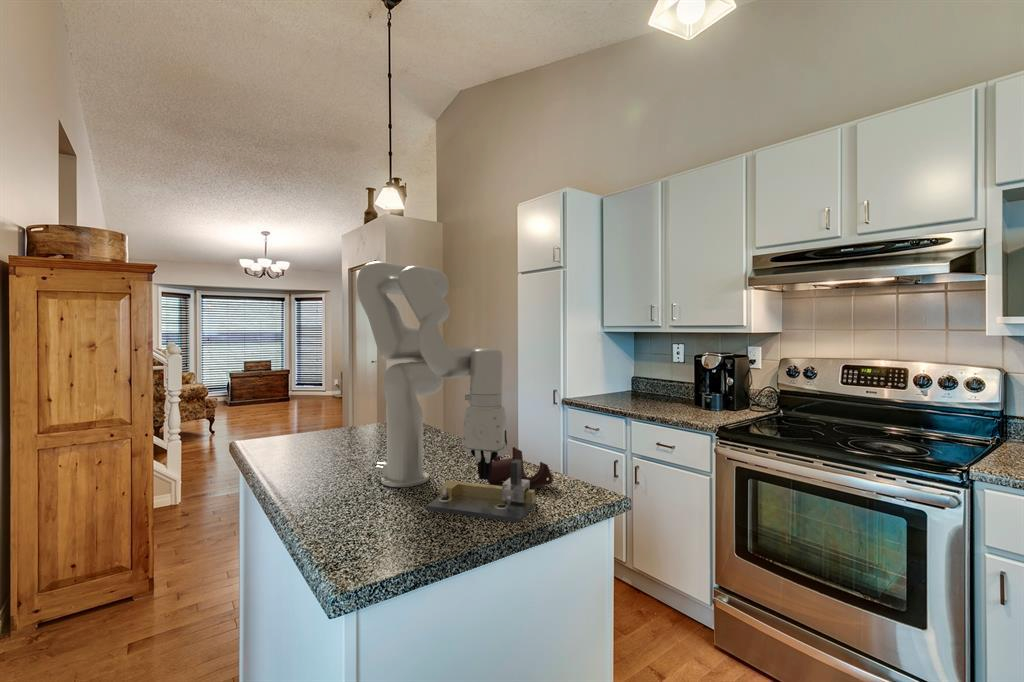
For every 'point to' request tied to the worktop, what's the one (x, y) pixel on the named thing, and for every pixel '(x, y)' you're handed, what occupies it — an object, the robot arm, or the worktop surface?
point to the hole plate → (482, 508)
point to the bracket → (503, 471)
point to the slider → (515, 484)
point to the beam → (478, 491)
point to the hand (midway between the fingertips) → (484, 477)
